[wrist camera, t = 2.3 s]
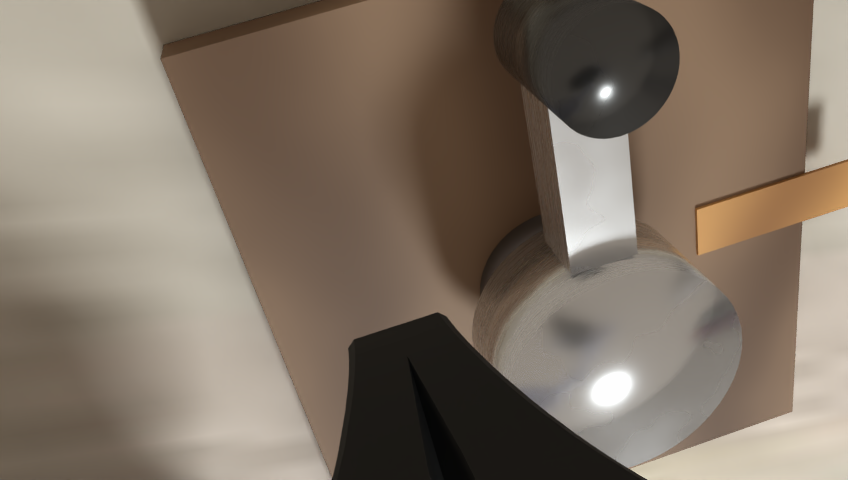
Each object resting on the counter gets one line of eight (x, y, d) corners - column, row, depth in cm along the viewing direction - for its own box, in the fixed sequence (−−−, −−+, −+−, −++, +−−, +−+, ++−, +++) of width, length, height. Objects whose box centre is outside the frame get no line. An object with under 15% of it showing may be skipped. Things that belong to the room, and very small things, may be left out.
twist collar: (685, 362, 22) (762, 452, 19) (492, 428, 22) (538, 532, 19) (666, -72, 16) (774, -43, 13) (392, 6, 16) (438, 55, 12)
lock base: (360, 533, 27) (374, 602, 25) (163, 44, 18) (155, 80, 15) (807, 377, 29) (861, 428, 26) (842, -147, 19) (929, -141, 17)
